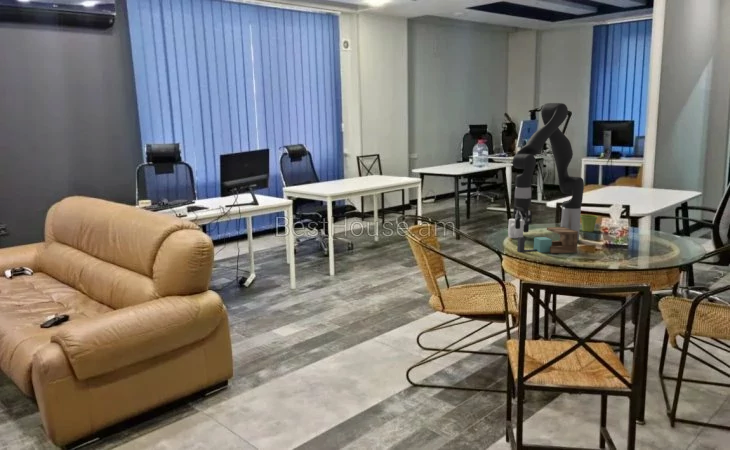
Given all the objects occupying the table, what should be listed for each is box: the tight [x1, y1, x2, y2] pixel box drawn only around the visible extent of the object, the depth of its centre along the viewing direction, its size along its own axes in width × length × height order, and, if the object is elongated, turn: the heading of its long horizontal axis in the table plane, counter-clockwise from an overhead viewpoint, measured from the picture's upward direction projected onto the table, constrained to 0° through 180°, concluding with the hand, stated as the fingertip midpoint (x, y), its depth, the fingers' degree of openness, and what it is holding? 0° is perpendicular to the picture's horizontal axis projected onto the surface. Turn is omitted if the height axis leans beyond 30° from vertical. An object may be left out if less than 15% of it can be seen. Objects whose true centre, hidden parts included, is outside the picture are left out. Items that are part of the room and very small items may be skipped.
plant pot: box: [580, 214, 599, 233], centre depth 317 cm, size 9×9×9 cm
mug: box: [507, 218, 524, 239], centre depth 301 cm, size 12×9×8 cm
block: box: [516, 236, 553, 253], centre depth 267 cm, size 6×15×7 cm, turn 101°
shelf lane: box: [546, 226, 578, 254], centre depth 269 cm, size 13×13×10 cm
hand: (521, 230), depth 265 cm, fingers open, 8 cm apart
